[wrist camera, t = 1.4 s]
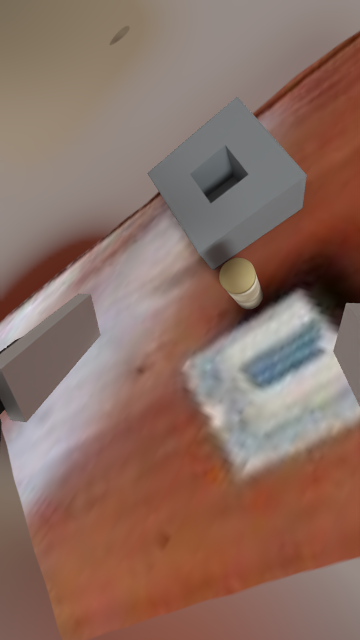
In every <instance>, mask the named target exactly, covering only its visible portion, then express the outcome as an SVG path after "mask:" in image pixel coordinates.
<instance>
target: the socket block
mask: <svg viewBox="0 0 360 640" xmlns="http://www.w3.org/2000/svg"><path fill="white" fill-rule="evenodd" d="M148 175H149V176H150V178H151V180H152V181H153V183H154V184H155V186H156V187H157V189H158V191H159V192H160V194H161V195H162V197H163V198H164V200H165V201H166V203H167V205H168V206H169V208H170V209H171V211H172V212H173V214H174V216H175V217H176V219H177V220H178V222H179V223H180V225H181V227H182V228H183V230H184V231H185V233H186V234H187V236H188V237H189V239H190V241H191V242H192V244H193V245H194V247H195V248H196V250H197V252H198V253H199V254H200V256H201V257H202V258H203V259H204V260H205V261H206V263H207V264H208V265H209V266H210V267H211V269H212V270H214V269H215V268H216V267H218V266H219V265H221V264H222V263H224V262H225V261H227V260H228V259H229V258H231V257H232V256H234V255H235V254H237V253H238V252H240V251H241V250H242V249H244V248H245V247H247V246H248V245H250V244H251V243H253V242H254V241H255V240H257V239H258V238H260V237H261V236H263V235H264V234H266V233H267V232H268V231H270V230H271V229H273V228H274V227H276V226H277V225H279V224H280V223H281V222H283V221H284V220H286V219H287V218H289V217H290V216H291V215H293V214H294V213H296V212H297V211H299V210H300V209H302V207H303V199H304V191H305V184H306V176H307V175H306V174H305V173H304V171H303V170H302V169H301V168H300V167H299V166H298V165H297V164H296V162H295V161H294V160H293V159H292V158H291V157H290V156H289V155H288V153H287V152H286V151H285V150H284V149H283V148H282V147H281V145H280V144H279V143H278V142H277V141H276V140H275V139H274V138H273V136H272V135H271V134H270V133H269V132H268V131H267V130H266V129H265V127H264V126H263V125H262V124H261V123H260V122H259V121H258V119H257V118H256V117H255V116H254V115H253V114H252V113H251V112H250V111H249V110H248V108H247V107H246V106H245V105H244V104H243V103H242V101H241V100H240V99H239V98H238V97H236V98H235V99H234V100H233V101H231V102H230V103H229V104H228V105H227V106H226V107H224V108H223V109H222V110H221V111H220V112H219V113H218V114H216V115H215V116H214V117H213V118H212V119H210V120H209V121H208V122H207V123H206V124H205V125H204V126H202V127H201V128H200V129H199V130H198V131H197V132H195V133H194V134H193V135H192V136H191V137H190V138H188V139H187V140H186V141H185V142H184V143H182V144H181V145H180V146H179V147H178V148H177V149H175V150H174V151H173V152H172V153H171V154H170V155H168V156H167V157H166V158H165V159H164V160H163V161H161V162H160V163H159V164H158V165H157V166H156V167H154V168H153V169H152V170H151V171H150V172H149V173H148Z"/></svg>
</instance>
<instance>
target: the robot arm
mask: <svg viewBox="0 0 360 640" xmlns="http://www.w3.org/2000/svg"><path fill="white" fill-rule="evenodd" d="M99 336H100V331H99V327H98V323H97V319H96V314H95V310H94V306H93V301H92V297H91V294H78V295H76V296H75V297H74V298H72V299H71V300H70V301H68V302H67V303H66V304H65V305H63V306H62V307H61V308H59V309H58V310H57V311H55V312H54V313H53V314H52V315H50V316H49V317H48V318H46V319H45V320H44V321H42V322H41V323H40V324H39V325H37V326H36V327H35V328H33V329H32V330H31V331H29V332H28V333H27V334H26V335H24V336H23V337H21V338H19V339H17V340H15V341H14V342H12V343H11V344H10V345H8V346H7V348H4V349H3V350H2V351H0V414H1V413H2V412H3V411H4V410H5V411H6V412H7V414H8V416H9V418H10V420H15V421H21V422H27V421H28V420H29V419H30V417H31V416H32V415H33V414H34V413H35V412H36V410H37V409H38V408H39V407H40V406H41V404H42V403H43V402H44V401H45V400H46V399H47V397H48V396H49V395H50V394H51V393H52V392H53V390H54V389H55V388H56V387H57V386H58V385H59V383H60V382H61V381H62V380H63V379H64V377H65V376H66V375H67V374H68V373H69V372H70V370H71V369H72V368H73V367H74V366H75V365H76V363H77V362H78V361H79V360H80V359H81V357H82V356H83V355H84V354H85V353H86V352H87V350H88V349H89V348H90V347H91V346H92V345H93V343H94V342H95V341H96V340H97V339H98V338H99ZM333 352H334V354H335V356H336V358H337V360H338V362H339V364H340V366H341V368H342V370H343V372H344V374H345V377H346V379H347V381H348V383H349V385H350V387H351V389H352V391H353V393H354V395H355V397H356V399H357V402H358V404H359V406H360V304H356V303H346V307H345V310H344V314H343V318H342V321H341V325H340V329H339V332H338V336H337V340H336V344H335V347H334V351H333ZM0 441H1V419H0Z"/></svg>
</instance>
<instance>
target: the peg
mask: <svg viewBox="0 0 360 640" xmlns="http://www.w3.org/2000/svg"><path fill="white" fill-rule="evenodd" d="M219 279H220V283H221V285H222V286H223V287H224V288H225V290H226V291H227V292H228V293H229V294H230V295H231V296H232V297H233V299H234V300H235V301H236V302H237V303H238V304H239V305H240V306H241V307H243V308H245V309H253V308H255V307H257V306H258V305H259V304H260V303H261V301H262V298H263V294H262V290H261V287H260V284H259V281H258V278H257V275H256V273H255V270H254V267H253V265H252V264H251V263H250V262H249V261H248V260H246V259H243V258H234V259H231V260H229V261H227V262H226V263H225V264H224V265H223V266H222V268H221V270H220V274H219Z"/></svg>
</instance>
